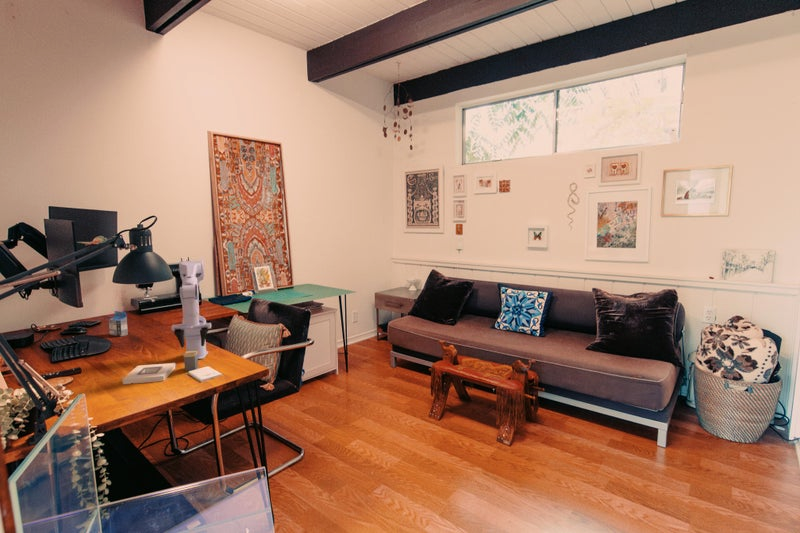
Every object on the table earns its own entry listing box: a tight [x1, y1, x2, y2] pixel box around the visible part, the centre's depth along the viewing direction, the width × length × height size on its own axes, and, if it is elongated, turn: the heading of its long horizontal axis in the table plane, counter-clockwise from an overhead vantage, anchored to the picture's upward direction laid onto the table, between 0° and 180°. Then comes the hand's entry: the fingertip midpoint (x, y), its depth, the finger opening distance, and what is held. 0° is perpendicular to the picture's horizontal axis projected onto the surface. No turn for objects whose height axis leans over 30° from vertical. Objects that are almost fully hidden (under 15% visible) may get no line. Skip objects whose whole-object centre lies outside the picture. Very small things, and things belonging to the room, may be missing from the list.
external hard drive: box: [187, 366, 223, 383], centre depth 161 cm, size 2×8×12 cm
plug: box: [183, 350, 199, 372], centre depth 167 cm, size 4×4×7 cm
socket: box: [122, 362, 177, 385], centre depth 160 cm, size 14×14×2 cm
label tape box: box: [108, 310, 129, 337], centre depth 214 cm, size 9×4×12 cm, turn 71°
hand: (192, 346), depth 167 cm, fingers open, 7 cm apart
